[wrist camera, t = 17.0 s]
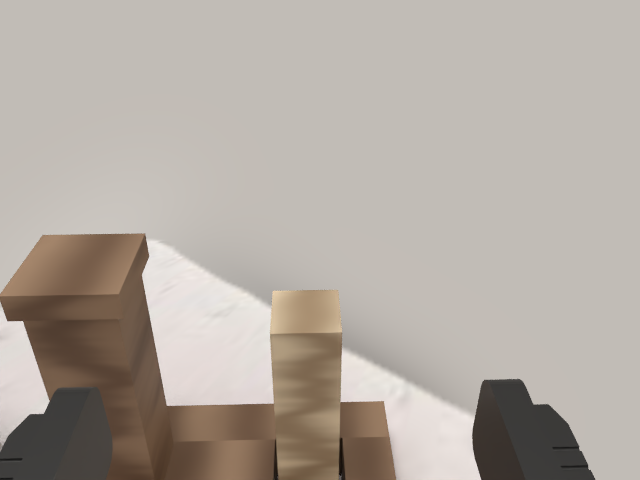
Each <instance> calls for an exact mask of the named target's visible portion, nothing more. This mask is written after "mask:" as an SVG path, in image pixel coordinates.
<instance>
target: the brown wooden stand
mask: <svg viewBox="0 0 640 480" xmlns="http://www.w3.org/2000/svg"><path fill="white" fill-rule="evenodd" d="M148 258H149V253H148V247H147V242H146V236H145V234H90V235H89V234H85V235H43V236H42V237H41V238H40V240H39V241H38V242H37V244H36V245H35V247H34V248H33V249H32V251H31V252H30V253H29V255H28V256H27V258H26V259H25V260H24V262H23V263H22V265H21V266H20V267H19V269H18V270H17V272H16V273H15V274H14V276H13V277H12V278H11V280H10V281H9V283H8V284H7V285H6V287H5V288H4V290H3V291H2V292H1V294H0V302H1V304H2V307H3V310H4V313H5V316H6V319H7V321H23V322H24V325H25V328H26V331H27V334H28V337H29V340H30V343H31V346H32V349H33V352H34V355H35V358H36V361H37V364H38V367H39V370H40V373H41V376H42V379H43V382H44V385H45V388H46V391H47V394H48V397H49V400H51V398H52V396H53V394H54V392H55V391H56V390H57V389H58V388H63V387H97V388H98V389H99V391H100V394H101V397H102V401H103V405H104V408H105V412H106V416H107V420H108V423H109V427H110V431H111V435H112V442H113V451H112V459H111V464H110V468H109V471H108V474H107V478H106V480H277V474H278V463H277V446H276V428H275V411H274V404H242V405H197V406H167V405H166V400H165V395H164V390H163V384H162V379H161V374H160V369H159V363H158V358H157V353H156V348H155V343H154V337H153V332H152V327H151V322H150V316H149V311H148V306H147V301H146V295H145V290H144V285H143V280H142V273H143V270H144V268H145V265H146V263H147V260H148ZM339 473H341V474H342V480H396V476H395V470H394V463H393V457H392V451H391V444H390V438H389V432H388V426H387V419H386V413H385V407H384V401H378V402H340V438H339Z"/></svg>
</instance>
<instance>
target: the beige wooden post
mask: <svg viewBox="0 0 640 480" xmlns="http://www.w3.org/2000/svg"><path fill="white" fill-rule="evenodd" d="M270 342H271V359H272V377H273V394H274V411H275V428H276V446H277V463H278V480H339V438H340V396H341V354H342V327H341V316H340V305H339V294H338V290H303V291H273V296H272V312H271V327H270Z"/></svg>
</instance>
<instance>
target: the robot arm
mask: <svg viewBox="0 0 640 480" xmlns="http://www.w3.org/2000/svg"><path fill="white" fill-rule="evenodd" d="M472 439H473V450H474V456H475V460H476V463H477V467H478V470H479V473H480V477H481V480H595V478H594V476H593V474H592V472H591V470H589V469H588V464H587V462H586V460H585V458H584V456H583V454H582V451H580V450H579V445H578V443H577V441H576V439H575V437H574V435H573V433H572V431H571V429H570V427H569V425H568V423H567V422H566V421H565V420H564V419H563V418H562V417H561V416H560V415H559V414H558V413H557V412H556V411H555V410H554V409H553V408H551V406H549V405H547V404H546V405H545V404H543V405H533V403H532V401H531V398H530V396H529V393H528V391H527V389H526V387H525V385H524V383H523V382H522V381H521V380H520V379H507V380H484V381H483V382H482V385H481V390H480V395H479V400H478V405H477V410H476V415H475V420H474V425H473V434H472ZM112 451H113V442H112V435H111V431H110V427H109V423H108V420H107V416H106V412H105V408H104V405H103V401H102V397H101V394H100V391H99V389H98V388H97V387H63V388H58V389H57V390H56V391H55V392H54V394H53V396H52V398H51V400H50V402H49V404H48V406H47V409H46V411H45V413H44V414H30V415H29V416H28V417H27V418H26V419H25V420H24V421H23V422H22V423H21V424H20V425H19V426H18V427H17V428H16V429H15V430H14V431H13V432H12V433H11V434H10V435H9V436H8V438H7V440H6V442H5V444H4V445H3V447H2V449H1V451H0V480H106V478H107V474H108V471H109V468H110V464H111V459H112Z"/></svg>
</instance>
